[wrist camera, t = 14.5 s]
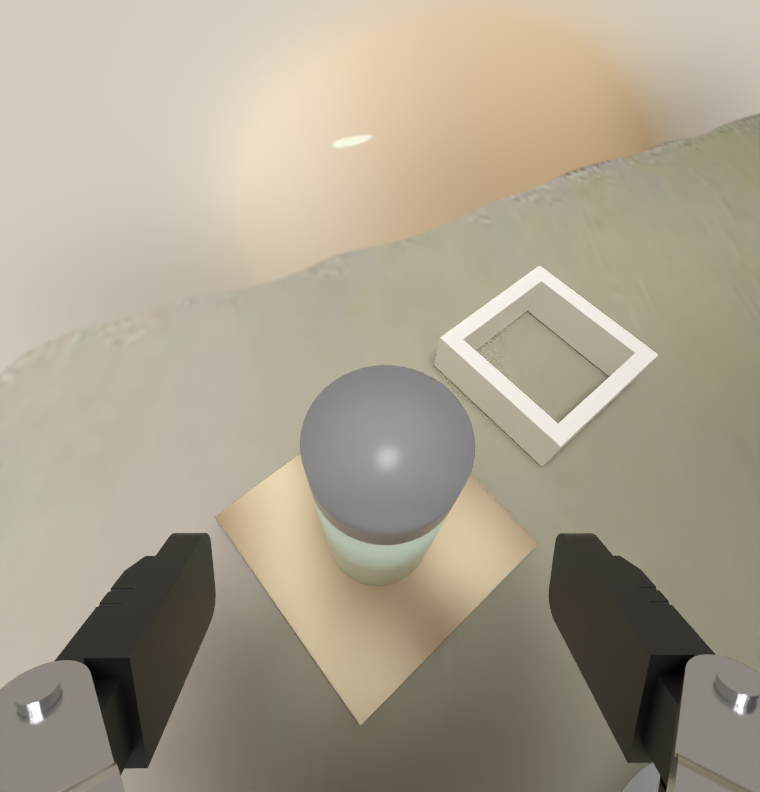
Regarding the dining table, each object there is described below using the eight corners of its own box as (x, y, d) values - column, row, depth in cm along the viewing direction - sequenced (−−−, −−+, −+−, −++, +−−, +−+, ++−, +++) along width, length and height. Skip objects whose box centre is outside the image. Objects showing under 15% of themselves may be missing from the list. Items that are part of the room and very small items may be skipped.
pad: (386, 395, 25) (387, 389, 24) (534, 546, 21) (538, 543, 21) (218, 520, 21) (215, 516, 21) (360, 724, 18) (360, 725, 17)
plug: (382, 464, 22) (394, 338, 14) (449, 537, 21) (511, 448, 12) (306, 526, 21) (265, 429, 12) (372, 609, 19) (378, 568, 11)
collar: (526, 296, 28) (539, 265, 26) (633, 380, 26) (658, 354, 23) (433, 364, 26) (440, 337, 24) (542, 467, 23) (560, 446, 21)
